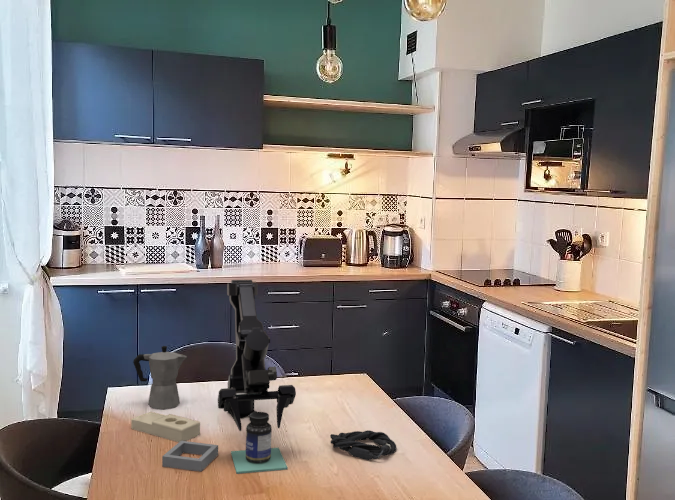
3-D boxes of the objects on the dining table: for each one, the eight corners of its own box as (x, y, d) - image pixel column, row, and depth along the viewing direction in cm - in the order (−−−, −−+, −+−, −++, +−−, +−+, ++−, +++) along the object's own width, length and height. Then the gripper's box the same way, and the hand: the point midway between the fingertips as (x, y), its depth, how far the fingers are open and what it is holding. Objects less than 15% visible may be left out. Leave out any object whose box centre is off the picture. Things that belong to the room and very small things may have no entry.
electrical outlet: (150, 408, 184) (200, 421, 176) (150, 422, 185) (200, 435, 176) (131, 415, 178) (181, 429, 169) (131, 430, 179) (181, 444, 170)
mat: (231, 453, 164) (231, 451, 164) (278, 449, 168) (278, 447, 168) (236, 473, 153) (236, 471, 153) (287, 469, 156) (287, 467, 156)
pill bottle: (241, 456, 161) (242, 412, 160) (264, 451, 165) (264, 408, 163) (252, 466, 156) (252, 420, 155) (275, 460, 159) (276, 416, 158)
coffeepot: (186, 398, 204) (187, 341, 203) (186, 409, 195) (186, 349, 193) (134, 400, 201) (134, 342, 199) (132, 411, 192) (132, 350, 190)
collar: (181, 450, 165) (181, 440, 165) (218, 454, 163) (218, 445, 163) (162, 466, 156) (162, 456, 155) (201, 471, 154) (201, 461, 153)
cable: (319, 451, 168) (319, 434, 168) (344, 433, 180) (344, 418, 180) (380, 466, 160) (381, 448, 160) (402, 446, 172) (403, 430, 172)
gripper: (219, 356, 159) (223, 416, 150) (295, 353, 164) (303, 411, 154) (216, 378, 167) (219, 437, 158) (288, 375, 172) (296, 431, 163)
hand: (259, 429), depth 158 cm, fingers open, 9 cm apart
